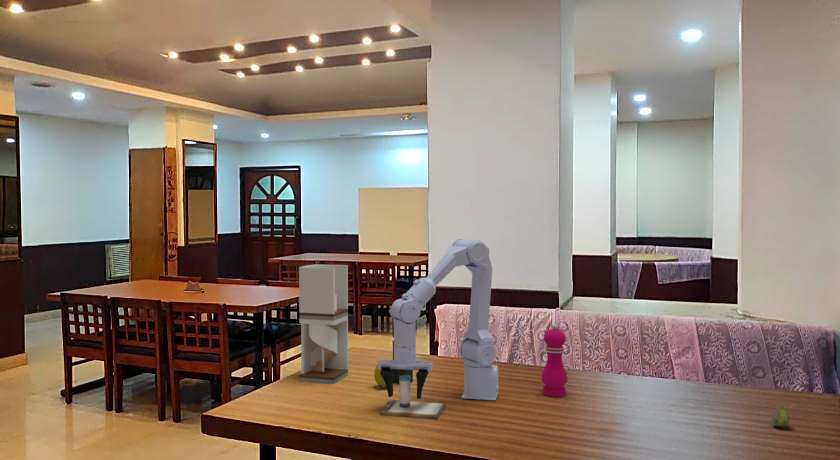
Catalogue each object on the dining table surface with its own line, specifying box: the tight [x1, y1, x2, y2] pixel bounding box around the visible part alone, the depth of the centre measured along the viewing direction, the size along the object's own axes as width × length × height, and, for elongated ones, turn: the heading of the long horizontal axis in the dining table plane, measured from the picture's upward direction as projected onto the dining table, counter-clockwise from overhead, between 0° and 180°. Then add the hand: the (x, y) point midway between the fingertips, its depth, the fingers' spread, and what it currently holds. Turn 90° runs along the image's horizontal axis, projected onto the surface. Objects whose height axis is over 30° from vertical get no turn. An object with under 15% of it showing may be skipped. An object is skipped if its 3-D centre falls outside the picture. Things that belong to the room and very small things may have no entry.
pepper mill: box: [541, 323, 568, 398], centre depth 175 cm, size 7×7×20 cm
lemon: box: [373, 365, 386, 389], centre depth 182 cm, size 6×6×8 cm
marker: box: [398, 375, 411, 408], centre depth 162 cm, size 3×3×8 cm
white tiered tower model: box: [298, 263, 349, 385], centre depth 192 cm, size 11×11×35 cm
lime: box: [770, 405, 790, 428], centre depth 148 cm, size 4×5×5 cm
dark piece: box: [392, 340, 414, 385], centre depth 188 cm, size 5×5×25 cm
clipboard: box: [379, 399, 447, 420], centre depth 161 cm, size 15×11×1 cm
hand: (404, 396), depth 162 cm, fingers open, 7 cm apart
